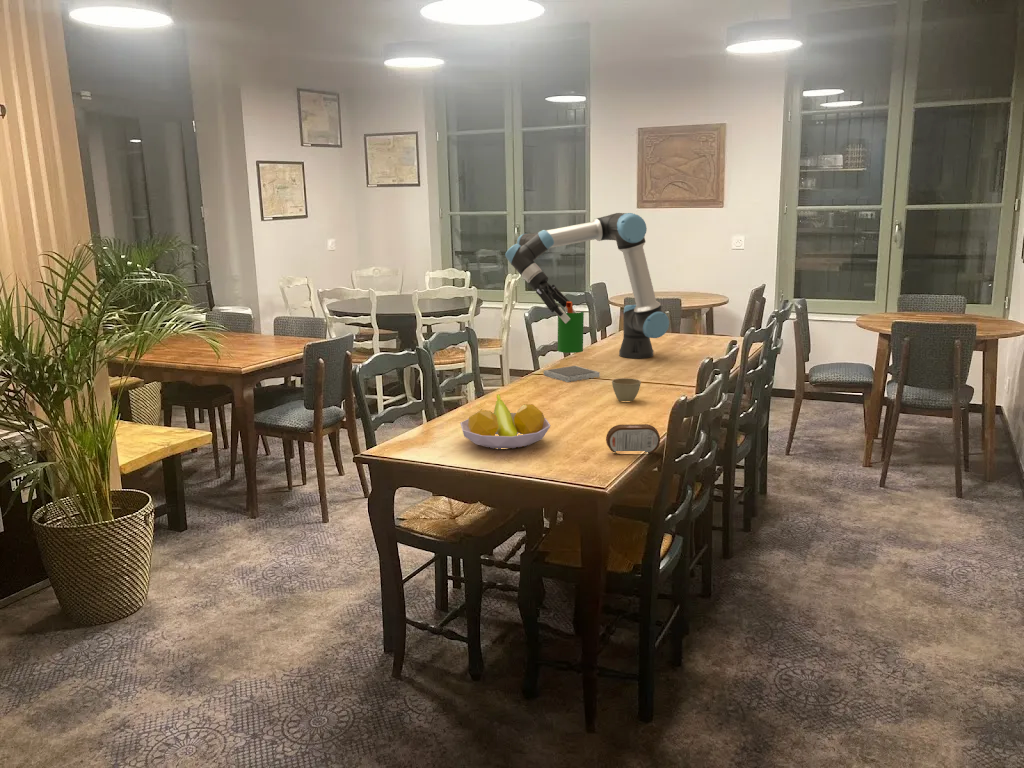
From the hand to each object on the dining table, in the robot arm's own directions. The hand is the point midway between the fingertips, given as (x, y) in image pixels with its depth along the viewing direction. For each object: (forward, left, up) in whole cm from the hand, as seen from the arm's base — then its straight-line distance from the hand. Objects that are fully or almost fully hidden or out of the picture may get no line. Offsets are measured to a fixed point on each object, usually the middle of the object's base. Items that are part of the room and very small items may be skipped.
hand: (572, 319), depth 330 cm
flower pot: (+9, +43, -23) cm, 50 cm away
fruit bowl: (+70, +60, -23) cm, 95 cm away
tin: (+47, +91, -23) cm, 105 cm away
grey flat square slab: (0, -1, -23) cm, 23 cm away
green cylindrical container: (+1, -1, -13) cm, 13 cm away
